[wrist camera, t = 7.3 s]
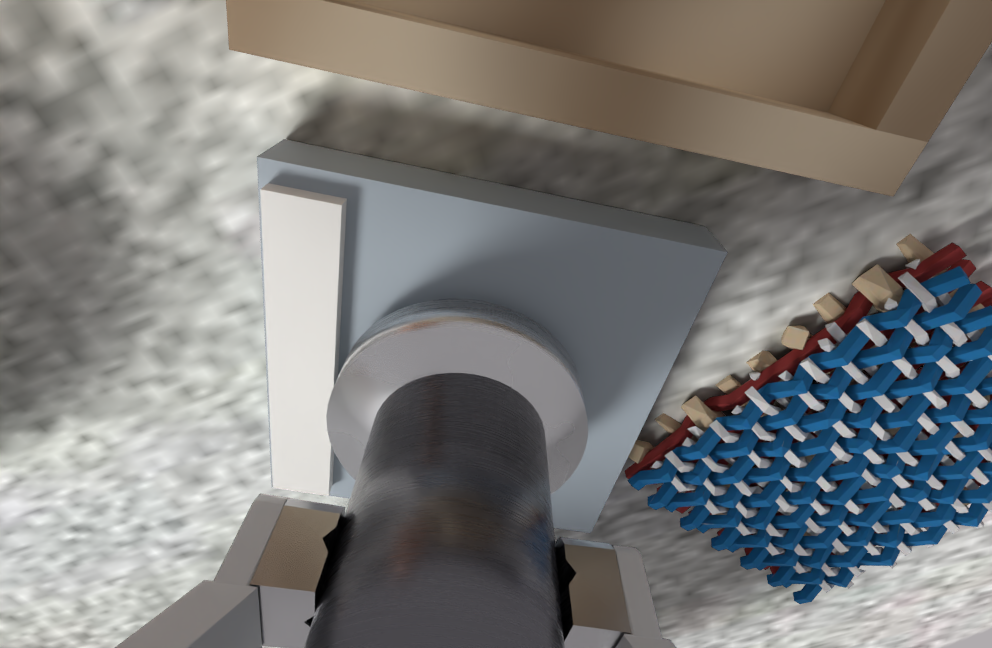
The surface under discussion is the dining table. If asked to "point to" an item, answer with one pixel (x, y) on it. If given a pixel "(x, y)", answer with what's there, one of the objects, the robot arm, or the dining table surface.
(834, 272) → the dining table surface
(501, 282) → the base
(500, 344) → the silver metal disc
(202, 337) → the dining table surface
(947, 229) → the dining table surface
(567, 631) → the robot arm
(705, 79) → the trough
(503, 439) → the cell
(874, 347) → the woven mat
